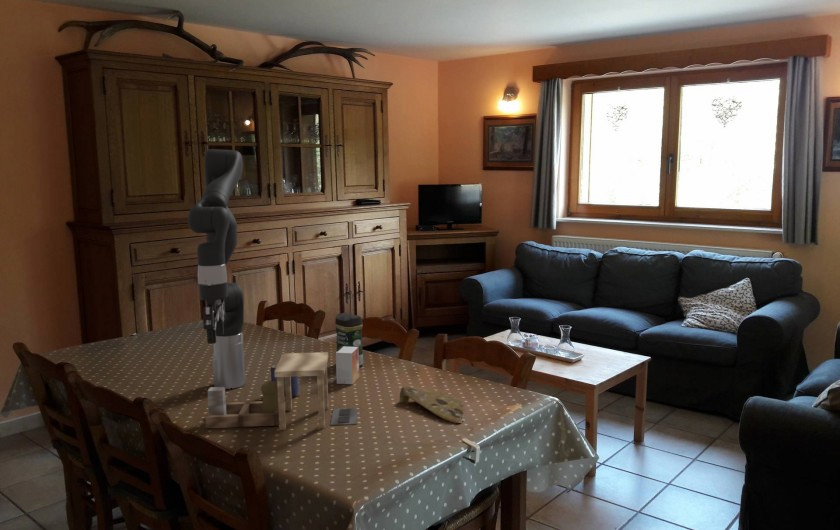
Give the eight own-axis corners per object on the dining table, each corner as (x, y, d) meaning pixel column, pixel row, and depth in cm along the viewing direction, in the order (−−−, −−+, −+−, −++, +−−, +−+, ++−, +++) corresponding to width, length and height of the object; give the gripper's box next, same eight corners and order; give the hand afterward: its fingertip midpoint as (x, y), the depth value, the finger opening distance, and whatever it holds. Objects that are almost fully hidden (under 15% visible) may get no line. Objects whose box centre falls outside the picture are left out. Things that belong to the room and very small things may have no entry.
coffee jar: (332, 364, 237) (330, 313, 234) (350, 360, 242) (348, 310, 240) (349, 370, 230) (348, 317, 227) (367, 365, 236) (366, 314, 233)
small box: (352, 385, 215) (351, 353, 213) (336, 384, 216) (335, 352, 214) (360, 377, 223) (359, 346, 221) (343, 376, 224) (342, 345, 222)
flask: (300, 394, 206) (299, 361, 205) (296, 398, 204) (295, 364, 202) (273, 392, 209) (272, 359, 207) (269, 395, 206) (267, 362, 204)
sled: (206, 428, 180) (203, 396, 178) (215, 413, 191) (213, 382, 189) (279, 425, 181) (277, 393, 180) (284, 410, 192) (283, 380, 191)
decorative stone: (396, 401, 199) (399, 385, 198) (436, 398, 208) (439, 383, 208) (447, 437, 180) (451, 420, 179) (489, 431, 189) (492, 415, 188)
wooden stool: (277, 431, 178) (274, 371, 176) (285, 408, 195) (282, 353, 193) (356, 427, 180) (354, 368, 177) (357, 405, 196) (355, 351, 194)
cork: (259, 418, 188) (257, 380, 186) (280, 414, 190) (279, 377, 188) (262, 425, 182) (260, 387, 180) (285, 422, 184) (283, 384, 183)
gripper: (205, 276, 187) (208, 332, 190) (191, 286, 173) (194, 346, 176) (232, 276, 187) (235, 332, 190) (220, 285, 173) (223, 346, 176)
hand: (215, 339), depth 183 cm, fingers open, 8 cm apart
